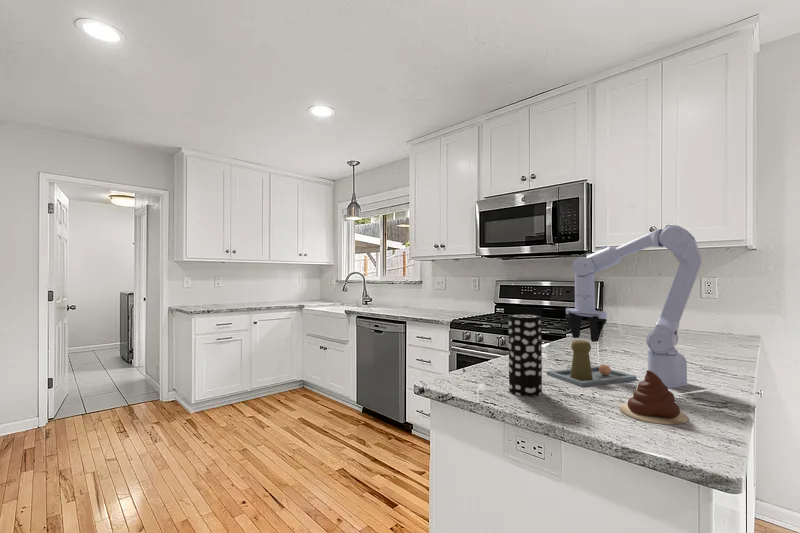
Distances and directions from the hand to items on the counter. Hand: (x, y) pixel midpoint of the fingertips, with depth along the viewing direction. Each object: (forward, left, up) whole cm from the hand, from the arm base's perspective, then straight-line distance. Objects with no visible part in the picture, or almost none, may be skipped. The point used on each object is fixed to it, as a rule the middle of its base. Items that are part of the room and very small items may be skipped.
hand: (585, 339), depth 129 cm
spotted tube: (+30, +10, -11) cm, 33 cm away
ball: (-1, +6, -10) cm, 12 cm away
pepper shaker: (+8, +6, -10) cm, 14 cm away
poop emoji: (+14, +34, -10) cm, 38 cm away
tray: (+4, +6, -10) cm, 13 cm away
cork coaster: (+14, +34, -10) cm, 38 cm away
